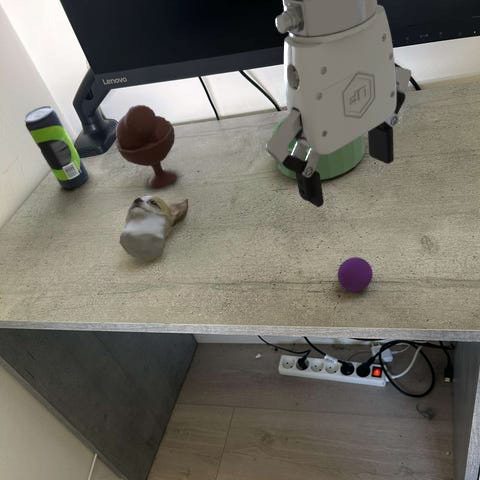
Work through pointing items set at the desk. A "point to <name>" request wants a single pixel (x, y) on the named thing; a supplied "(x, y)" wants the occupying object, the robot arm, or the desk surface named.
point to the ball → (355, 274)
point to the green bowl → (330, 158)
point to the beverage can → (56, 146)
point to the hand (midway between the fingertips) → (347, 179)
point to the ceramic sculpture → (150, 226)
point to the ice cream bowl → (146, 142)
